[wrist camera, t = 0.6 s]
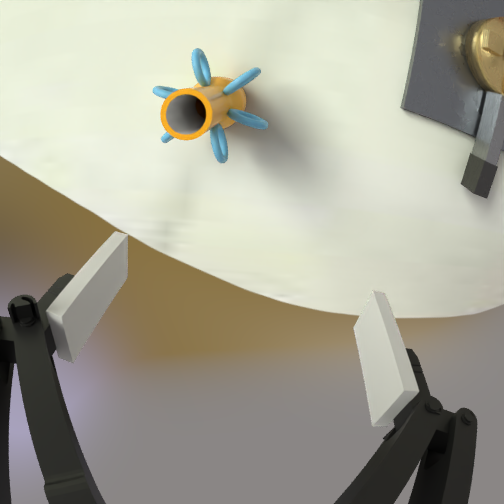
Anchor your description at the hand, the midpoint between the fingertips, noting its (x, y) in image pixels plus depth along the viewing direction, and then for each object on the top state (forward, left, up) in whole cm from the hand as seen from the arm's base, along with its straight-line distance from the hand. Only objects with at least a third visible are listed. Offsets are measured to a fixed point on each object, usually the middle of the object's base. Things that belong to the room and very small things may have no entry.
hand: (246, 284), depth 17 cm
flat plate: (-23, +26, -25) cm, 43 cm away
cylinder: (-7, -7, -26) cm, 27 cm away
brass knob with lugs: (-16, +26, -24) cm, 39 cm away
